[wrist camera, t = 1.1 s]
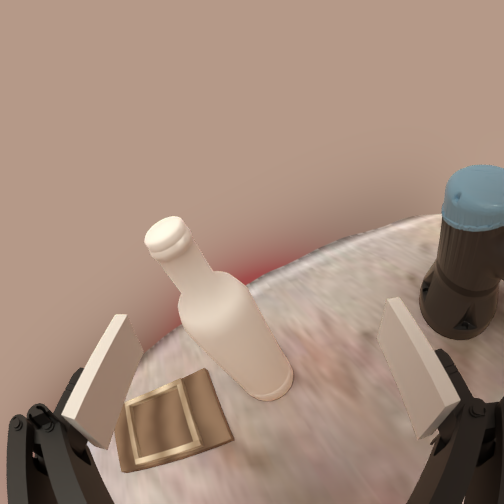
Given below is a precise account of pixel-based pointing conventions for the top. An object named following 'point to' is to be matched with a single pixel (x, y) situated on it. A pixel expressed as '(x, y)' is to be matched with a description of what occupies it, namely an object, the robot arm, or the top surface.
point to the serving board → (171, 423)
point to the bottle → (220, 313)
